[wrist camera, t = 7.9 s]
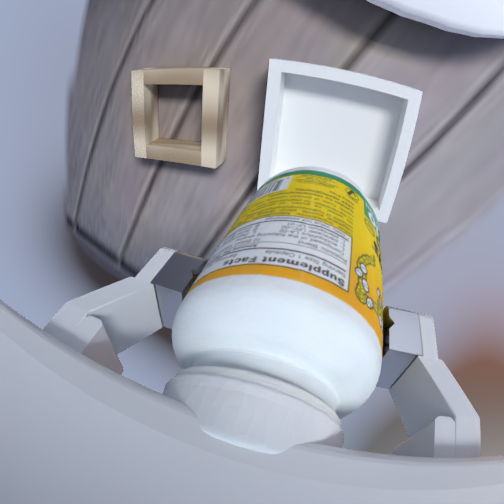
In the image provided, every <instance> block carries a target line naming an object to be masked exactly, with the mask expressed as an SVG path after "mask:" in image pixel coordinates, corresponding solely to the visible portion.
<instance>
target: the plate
mask: <svg viewBox="0 0 504 504" xmlns="http://www.w3.org/2000/svg"><path fill="white" fill-rule="evenodd" d="M366 1H368V2H370V3H372V4H374V5H377V6H379V7H381V8H384V9H386V10H388V11H391V12H393V13H395V14H397V15H399V16H402V17H405V18H409V19H412V20H415V21H418V22H422V23H425V24H428V25H430V26H433V27H436V28H439V29H442V30H444V31H448V32H453V33H458V34H463V35H467V36H471V37H485V38H500V39H504V0H366Z"/></svg>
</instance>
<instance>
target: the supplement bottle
mask: <svg viewBox="0 0 504 504" xmlns="http://www.w3.org/2000/svg"><path fill="white" fill-rule="evenodd" d="M172 343H173V349H174V352H175V355H176V358H177V360H178V363H179V365H180V366H181V368H182V370H181V371H180V372H179V373H177V374H176V376H175V377H174V378H173V379H171V380H170V381H169V382H168V383H167V384H166V385H165V389H164V392H163V395H165V396H167V397H170V398H172V399H175V400H177V401H179V402H182V403H183V404H185V405H187V406H188V407H190V408H191V409H192V410H193V411H194V413H195V414H196V416H197V417H198V419H199V425H200V427H201V429H202V431H203V432H205V433H207V434H208V435H210V436H212V437H214V438H217V439H220V440H222V441H225V442H227V443H230V444H233V445H236V446H239V447H243V448H246V449H250V450H254V451H257V452H263V453H268V454H278V453H282V452H284V451H285V450H287V449H288V448H289V447H292V446H294V445H296V444H303V443H317V444H322V445H327V446H333V447H338V448H342V446H343V443H344V434H343V431H342V430H341V422H340V419H341V418H343V417H345V416H347V415H349V414H351V413H352V412H354V411H355V410H356V409H358V408H359V407H360V406H361V405H362V404H363V403H364V402H365V401H366V400H367V399H368V397H369V396H370V395H371V393H372V392H373V390H374V388H375V387H376V384H377V382H378V379H379V376H380V372H381V365H382V348H383V287H382V264H381V248H380V233H379V226H378V220H377V217H376V214H375V211H374V209H373V207H372V205H371V203H370V201H369V199H368V197H367V196H366V194H365V193H364V192H363V190H362V189H361V188H360V187H359V186H358V185H357V184H356V183H355V182H353V181H352V180H351V179H349V178H348V177H346V176H345V175H342V174H340V173H338V172H335V171H333V170H330V169H326V168H321V167H313V166H304V167H296V168H292V169H288V170H285V171H283V172H280V173H278V174H276V175H275V176H273V177H271V178H270V179H269V180H267V181H266V182H265V183H264V184H263V185H262V186H261V187H260V188H259V189H258V190H257V192H256V193H255V194H254V196H253V197H252V198H251V200H250V201H249V202H248V204H247V205H246V207H245V208H244V209H243V211H242V212H241V214H240V215H239V217H238V218H237V220H236V221H235V223H234V224H233V226H232V227H231V229H230V230H229V232H228V233H227V235H226V236H225V238H224V239H223V241H222V242H221V243H220V245H219V246H218V248H217V249H216V250H215V252H214V254H213V255H212V256H211V258H210V259H209V261H208V262H207V264H206V265H205V267H204V268H203V270H202V271H201V273H200V275H199V276H198V278H197V279H196V280H195V282H194V283H193V285H192V286H191V288H190V289H189V291H188V292H187V294H186V296H185V298H184V299H183V301H182V303H181V304H180V306H179V308H178V310H177V312H176V315H175V318H174V321H173V326H172Z"/></svg>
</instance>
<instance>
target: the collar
mask: <svg viewBox="0 0 504 504" xmlns="http://www.w3.org/2000/svg"><path fill="white" fill-rule="evenodd" d="M230 71H231V68H211V67H163V68H145V69H139V70H133V71H131V73H132V113H133V132H134V146H135V157H141V158H148V159H156V160H163V161H171V162H177V163H184V164H191V165H197V166H203V167H209V168H215V169H216V168H217V167H218V166H219V165H220V164H222V163H223V162H224V161H225V160H226V140H227V121H228V103H229V87H230ZM158 84H184V85H203V100H202V141H201V143H200V142H192V141H183V140H174V139H165V138H159V129H158Z"/></svg>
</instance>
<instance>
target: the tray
mask: <svg viewBox="0 0 504 504" xmlns="http://www.w3.org/2000/svg"><path fill="white" fill-rule="evenodd" d="M422 93H423V92H422V91H420V90H417V89H415V88H412V87H409V86H405V85H402V84H399V83H396V82H392V81H389V80H385V79H381V78H378V77H374V76H370V75H366V74H362V73H357V72H353V71H348V70H344V69H339V68H334V67H328V66H323V65H317V64H311V63H305V62H298V61H290V60H282V59H270V61H269V71H268V82H267V92H266V102H265V113H264V123H263V134H262V144H261V155H260V165H259V176H258V186H257V190H258V189H259V188H260V187H261V186H262V185H263V184H264V183H265V182H266V181H267V180H269V179H270V178H271V177H273V176H275V175H276V174H278V173H280V172H283V171H285V170H288V169H292V168H296V167H304V166H313V167H321V168H326V169H330V170H333V171H335V172H338V173H340V174H342V175H345V176H346V177H348V178H349V179H351V180H352V181H353V182H355V183H356V184H357V185H358V186H359V187H360V188H361V189H362V190H363V192H364V193H365V194H366V196H367V197H368V199H369V201H370V203H371V205H372V207H373V209H374V211H375V214H376V217H377V220H378V221H380V222H384V223H387V221H388V218H389V215H390V212H391V209H392V206H393V203H394V200H395V197H396V193H397V190H398V187H399V184H400V180H401V177H402V174H403V170H404V167H405V163H406V160H407V156H408V152H409V149H410V145H411V141H412V137H413V133H414V129H415V125H416V120H417V116H418V112H419V107H420V103H421V98H422Z"/></svg>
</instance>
